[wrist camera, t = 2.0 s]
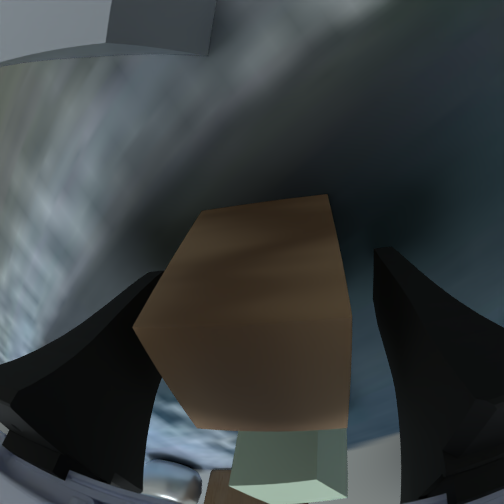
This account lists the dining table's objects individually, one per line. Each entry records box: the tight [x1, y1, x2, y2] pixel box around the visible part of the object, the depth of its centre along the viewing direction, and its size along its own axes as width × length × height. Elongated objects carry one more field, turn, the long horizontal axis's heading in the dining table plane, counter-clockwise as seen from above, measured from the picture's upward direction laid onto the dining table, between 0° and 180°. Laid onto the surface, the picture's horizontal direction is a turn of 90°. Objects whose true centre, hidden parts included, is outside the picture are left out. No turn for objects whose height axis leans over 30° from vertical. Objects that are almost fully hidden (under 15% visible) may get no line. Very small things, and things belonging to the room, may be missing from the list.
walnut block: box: [132, 194, 352, 432], centre depth 10 cm, size 4×4×6 cm
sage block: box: [228, 428, 348, 504], centre depth 15 cm, size 4×4×6 cm
